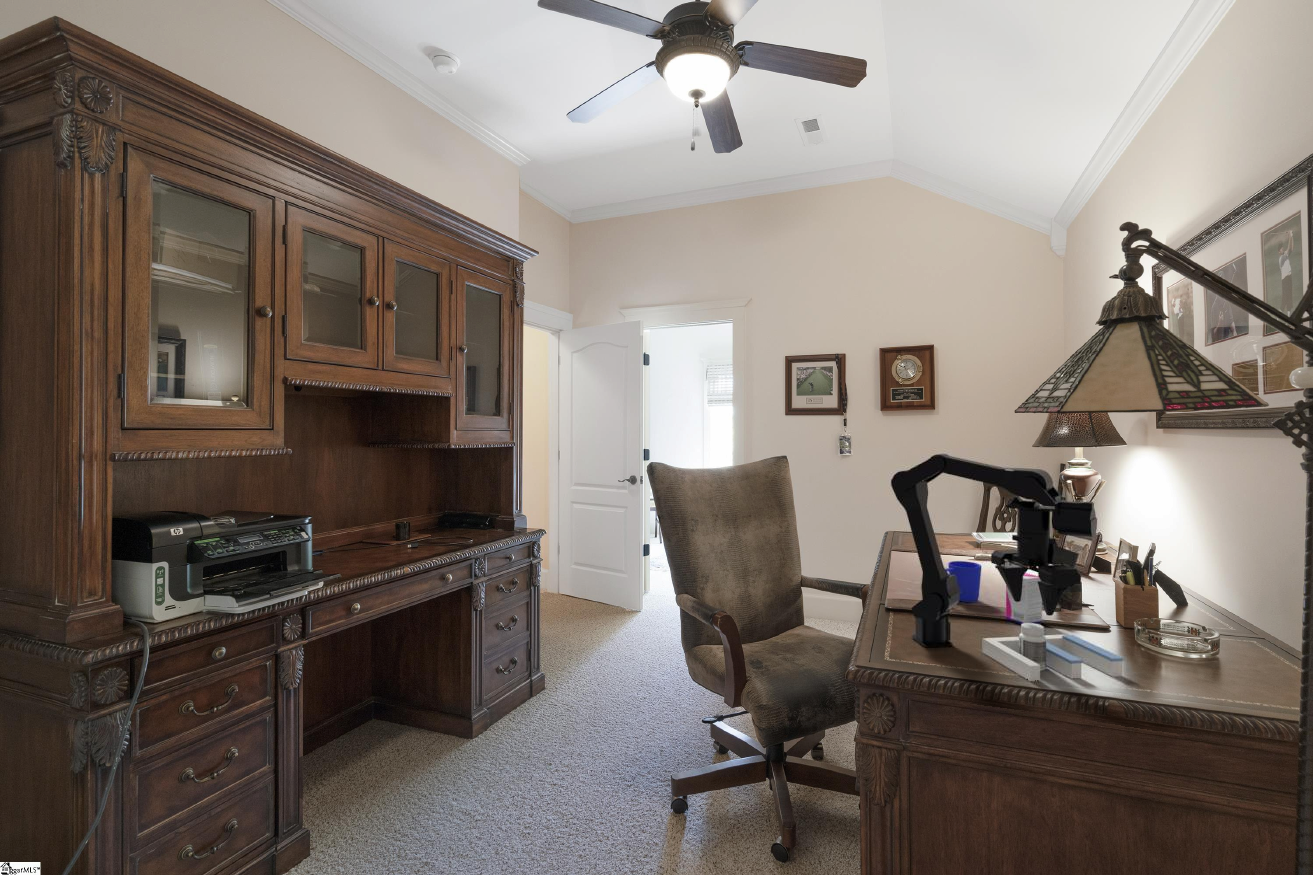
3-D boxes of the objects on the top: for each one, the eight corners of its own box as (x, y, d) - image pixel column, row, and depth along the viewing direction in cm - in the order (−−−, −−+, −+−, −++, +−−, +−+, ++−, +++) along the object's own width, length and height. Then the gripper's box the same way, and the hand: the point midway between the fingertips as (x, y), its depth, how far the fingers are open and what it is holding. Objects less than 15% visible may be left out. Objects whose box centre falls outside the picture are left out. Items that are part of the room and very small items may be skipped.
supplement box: (1043, 622, 152) (1043, 576, 152) (1026, 626, 150) (1026, 579, 149) (1021, 615, 157) (1021, 571, 157) (1004, 618, 155) (1004, 573, 155)
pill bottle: (1052, 670, 124) (1052, 628, 124) (1031, 672, 123) (1032, 630, 123) (1033, 661, 128) (1033, 621, 128) (1013, 663, 128) (1013, 622, 127)
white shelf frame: (1030, 681, 119) (1030, 662, 119) (982, 652, 134) (982, 635, 134) (1123, 676, 120) (1123, 657, 120) (1065, 647, 135) (1065, 631, 135)
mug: (930, 598, 173) (930, 563, 173) (965, 594, 177) (965, 559, 176) (952, 607, 165) (952, 570, 165) (988, 602, 169) (988, 566, 169)
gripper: (1108, 539, 117) (1107, 621, 117) (1037, 522, 135) (1037, 593, 136) (1053, 541, 116) (1052, 623, 116) (989, 524, 134) (989, 595, 135)
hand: (1032, 608), depth 126 cm, fingers open, 9 cm apart
